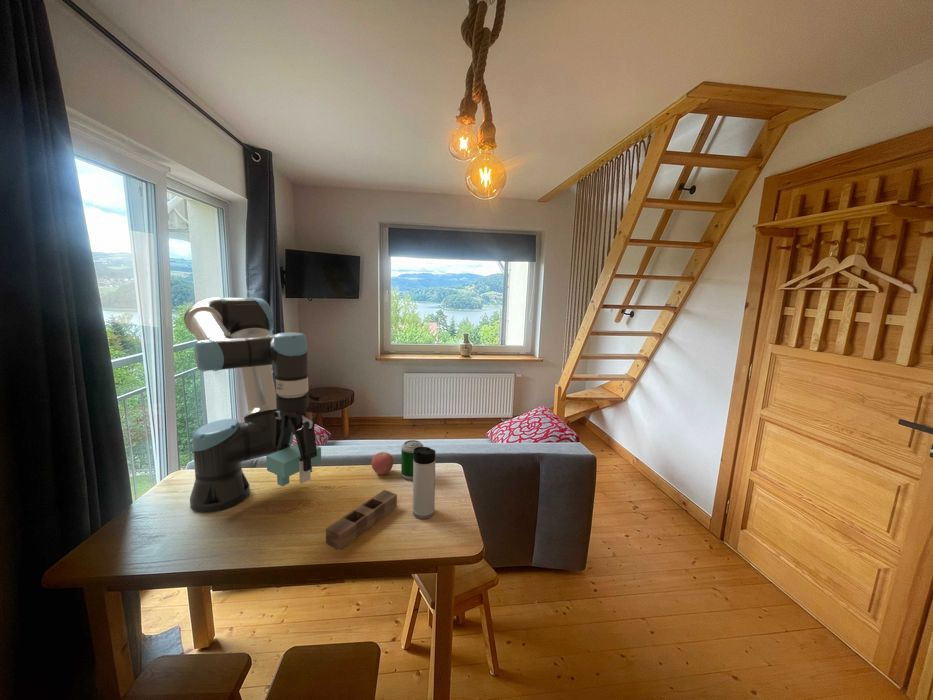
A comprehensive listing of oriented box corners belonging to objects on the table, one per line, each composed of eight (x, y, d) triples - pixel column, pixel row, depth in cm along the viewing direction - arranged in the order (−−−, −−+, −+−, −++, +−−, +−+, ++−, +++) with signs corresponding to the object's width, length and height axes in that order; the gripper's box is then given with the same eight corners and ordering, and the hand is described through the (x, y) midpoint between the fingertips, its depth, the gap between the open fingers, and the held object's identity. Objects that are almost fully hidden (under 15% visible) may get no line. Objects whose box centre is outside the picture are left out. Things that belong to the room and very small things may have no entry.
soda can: (418, 482, 127) (419, 449, 125) (397, 479, 128) (398, 446, 126) (425, 472, 134) (426, 440, 132) (405, 469, 136) (406, 438, 134)
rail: (326, 542, 96) (325, 528, 95) (384, 501, 115) (384, 489, 114) (340, 549, 93) (339, 535, 93) (396, 506, 112) (397, 494, 112)
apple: (367, 475, 130) (367, 453, 129) (379, 466, 137) (379, 445, 136) (385, 480, 128) (385, 458, 126) (397, 471, 134) (397, 449, 133)
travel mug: (407, 513, 110) (408, 448, 106) (424, 504, 114) (425, 442, 111) (421, 522, 105) (422, 455, 102) (438, 513, 110) (440, 448, 107)
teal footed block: (267, 483, 97) (266, 455, 95) (304, 466, 106) (303, 441, 105) (285, 491, 93) (284, 463, 92) (321, 473, 103) (320, 447, 101)
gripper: (254, 390, 97) (258, 472, 101) (306, 405, 88) (308, 495, 92) (280, 384, 104) (283, 461, 108) (331, 397, 94) (333, 481, 98)
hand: (295, 476), depth 100 cm, fingers closed on teal footed block, 7 cm apart
